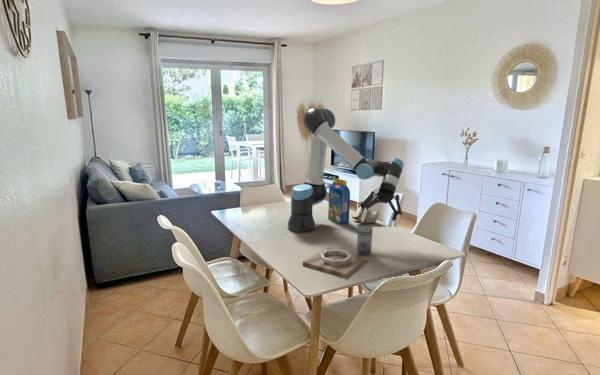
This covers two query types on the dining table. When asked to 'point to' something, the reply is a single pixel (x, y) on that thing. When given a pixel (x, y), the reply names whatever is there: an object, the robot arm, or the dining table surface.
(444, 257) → the dining table surface
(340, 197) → the blue food package
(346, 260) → the steel ring
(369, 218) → the ceramic sculpture
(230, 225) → the dining table surface
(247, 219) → the dining table surface
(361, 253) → the cylinder
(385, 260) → the dining table surface
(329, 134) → the robot arm
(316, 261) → the walnut board
